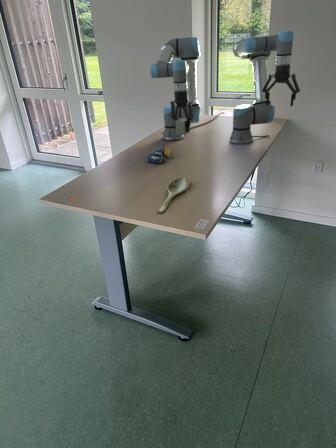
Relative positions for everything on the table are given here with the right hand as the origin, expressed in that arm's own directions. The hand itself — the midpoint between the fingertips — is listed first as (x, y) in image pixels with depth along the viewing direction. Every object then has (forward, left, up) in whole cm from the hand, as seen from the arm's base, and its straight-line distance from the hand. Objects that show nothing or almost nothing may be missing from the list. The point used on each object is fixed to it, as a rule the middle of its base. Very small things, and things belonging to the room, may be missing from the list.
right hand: (279, 105), depth 190 cm
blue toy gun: (+51, -49, -29) cm, 76 cm away
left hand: (+41, -38, -11) cm, 57 cm away
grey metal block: (+41, -38, -13) cm, 57 cm away
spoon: (+79, -2, -29) cm, 84 cm away
